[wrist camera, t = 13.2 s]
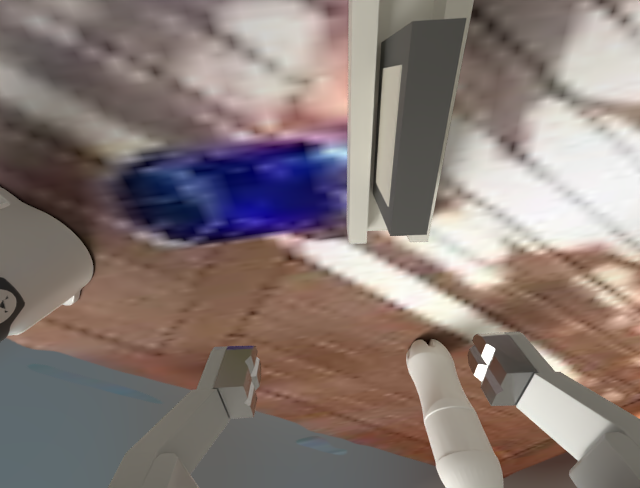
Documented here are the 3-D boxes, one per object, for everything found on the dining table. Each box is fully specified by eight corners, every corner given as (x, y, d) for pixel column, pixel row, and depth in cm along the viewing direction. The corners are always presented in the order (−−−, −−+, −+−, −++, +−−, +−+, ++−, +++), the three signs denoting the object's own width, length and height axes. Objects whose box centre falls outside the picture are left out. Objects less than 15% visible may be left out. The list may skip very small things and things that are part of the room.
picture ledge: (346, 227, 35) (349, 243, 31) (348, -31, 22) (353, -51, 19) (417, 225, 34) (427, 241, 31) (460, -39, 22) (485, -61, 18)
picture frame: (371, 193, 31) (389, 235, 22) (380, 42, 24) (410, 21, 15) (399, 192, 31) (427, 234, 22) (416, 40, 24) (468, 17, 15)
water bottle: (394, 351, 47) (451, 576, 26) (423, 328, 44) (514, 562, 23) (424, 365, 49) (501, 585, 28) (454, 344, 46) (566, 574, 24)
